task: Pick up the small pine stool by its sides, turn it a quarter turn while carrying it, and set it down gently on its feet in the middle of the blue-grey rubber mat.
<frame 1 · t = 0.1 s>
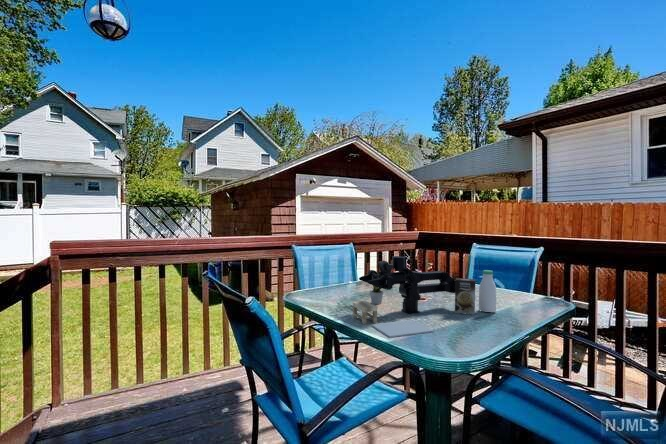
hand: (363, 280, 156), 17 cm above the table, tool horizontal, fingers open, 9 cm apart
stool: (364, 320, 151), on the table
house plant: (374, 303, 181), on the table
mat: (401, 328, 139), on the table
coffee box: (464, 313, 164), on the table
milk bottle: (487, 311, 167), on the table
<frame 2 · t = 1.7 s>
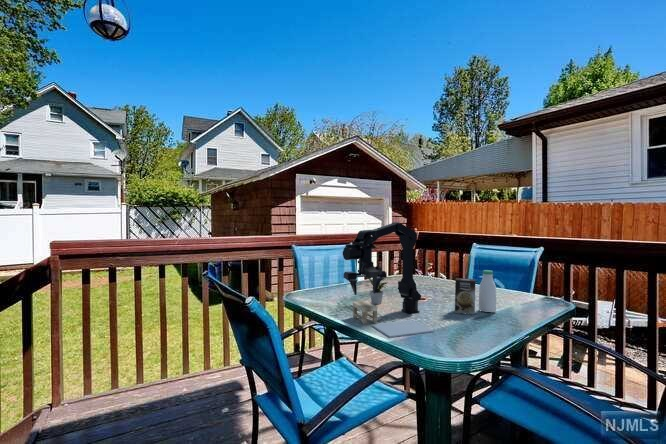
hand: (365, 294, 151), 11 cm above the table, tool pointing down, fingers open, 9 cm apart
nothing on the table moved.
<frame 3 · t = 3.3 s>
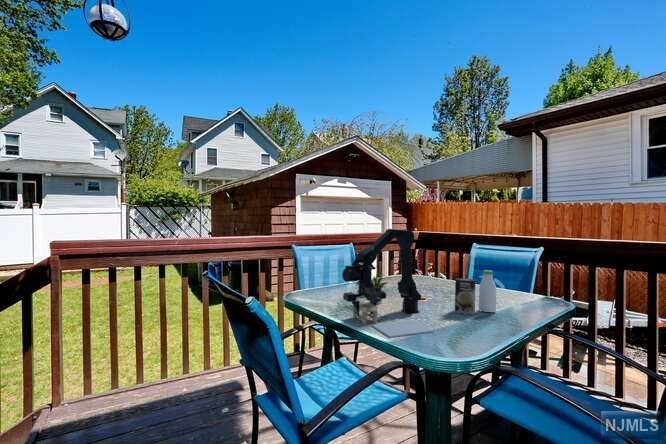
hand: (364, 315, 151), 2 cm above the table, tool pointing down, fingers closed on stool, 6 cm apart
stool: (364, 320, 151), on the table, touching gripper
everything else where it was.
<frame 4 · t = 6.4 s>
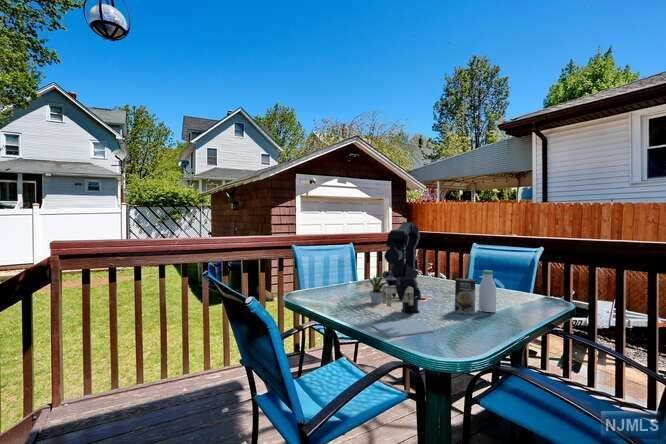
hand: (397, 298, 140), 12 cm above the table, tool pointing down, fingers closed on stool, 6 cm apart
stool: (397, 304, 140), point 10 cm above the table, touching gripper
everything else where it was.
when the fingers open (4 cm above the table, at t = 9.4 s): stool drops 1 cm, resting on mat.
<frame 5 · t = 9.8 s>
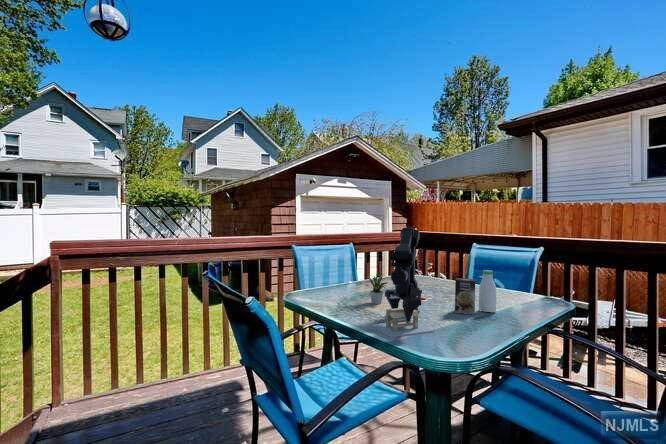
hand: (402, 318, 139), 4 cm above the table, tool pointing down, fingers open, 9 cm apart
stool: (401, 327, 139), point 1 cm above the table, touching mat
everything else where it was.
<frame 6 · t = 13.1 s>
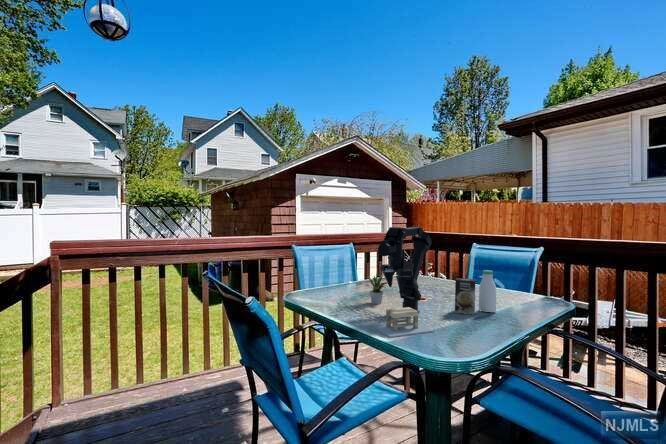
hand: (395, 288, 155), 13 cm above the table, tool pointing down, fingers open, 9 cm apart
nothing on the table moved.
at the end: stool inside the target area on the mat (0.0 cm from its centre), point 0.6 cm above the mat's base; stool tilted 0°; the gripper is holding nothing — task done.
